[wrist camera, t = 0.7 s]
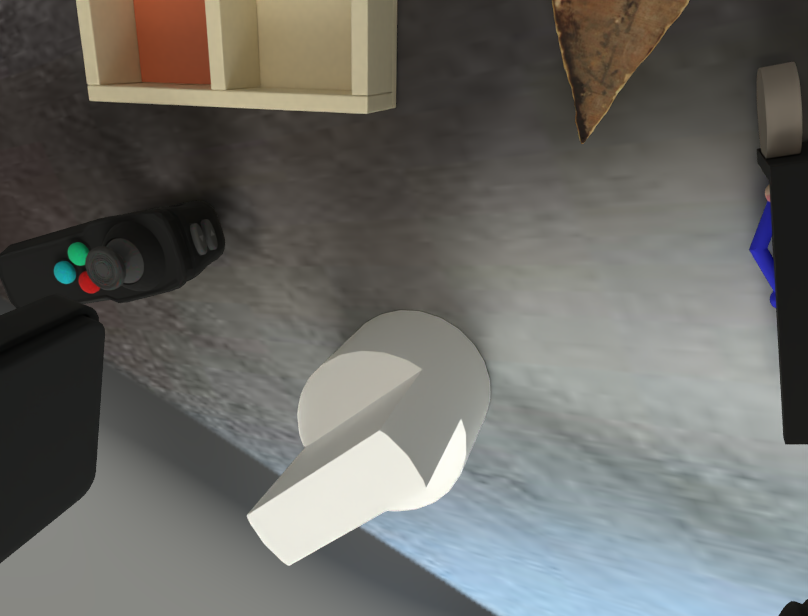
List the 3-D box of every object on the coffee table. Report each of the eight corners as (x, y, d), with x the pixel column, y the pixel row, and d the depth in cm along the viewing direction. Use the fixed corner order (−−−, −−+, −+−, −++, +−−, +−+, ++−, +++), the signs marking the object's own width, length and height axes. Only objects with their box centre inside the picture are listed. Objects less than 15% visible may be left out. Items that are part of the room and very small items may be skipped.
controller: (271, 249, 40) (165, 305, 32) (108, 282, 45) (-25, 339, 36) (249, 176, 39) (132, 212, 30) (84, 217, 44) (-60, 259, 35)
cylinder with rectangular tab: (405, 476, 43) (325, 618, 32) (313, 361, 42) (200, 467, 31) (523, 407, 39) (477, 542, 28) (423, 279, 38) (337, 367, 27)
